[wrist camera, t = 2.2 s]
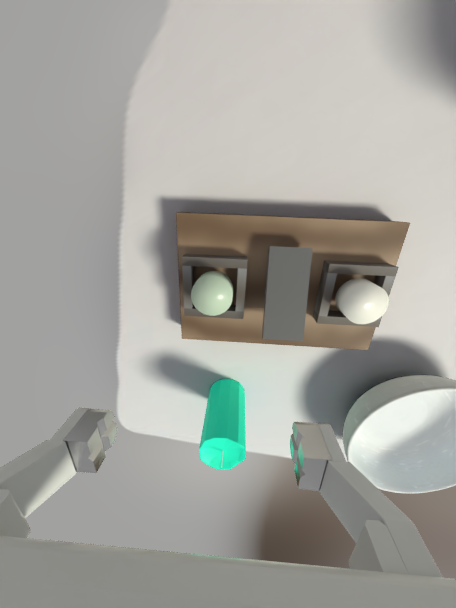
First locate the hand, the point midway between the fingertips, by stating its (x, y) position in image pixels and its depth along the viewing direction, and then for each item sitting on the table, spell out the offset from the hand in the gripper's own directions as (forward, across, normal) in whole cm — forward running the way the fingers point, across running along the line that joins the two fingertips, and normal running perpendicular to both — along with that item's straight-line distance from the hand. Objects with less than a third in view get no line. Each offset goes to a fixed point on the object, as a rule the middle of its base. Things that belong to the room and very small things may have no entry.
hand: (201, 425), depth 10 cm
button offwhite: (+17, -15, 0) cm, 23 cm away
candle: (+23, 0, +19) cm, 30 cm away
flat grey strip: (+17, -6, 0) cm, 18 cm away
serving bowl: (+23, -28, +21) cm, 42 cm away
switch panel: (+22, -6, -1) cm, 23 cm away
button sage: (+17, +1, -1) cm, 17 cm away
